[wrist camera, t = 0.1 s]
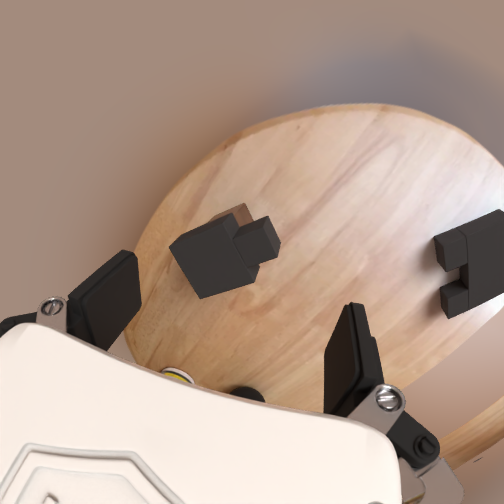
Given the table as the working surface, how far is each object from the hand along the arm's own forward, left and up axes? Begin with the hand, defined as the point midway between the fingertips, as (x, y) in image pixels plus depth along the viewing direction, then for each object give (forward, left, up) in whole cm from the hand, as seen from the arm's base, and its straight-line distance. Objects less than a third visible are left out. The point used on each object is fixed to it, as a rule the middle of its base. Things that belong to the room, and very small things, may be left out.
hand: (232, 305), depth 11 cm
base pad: (+14, +19, -16) cm, 29 cm away
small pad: (+1, -3, -10) cm, 11 cm away
